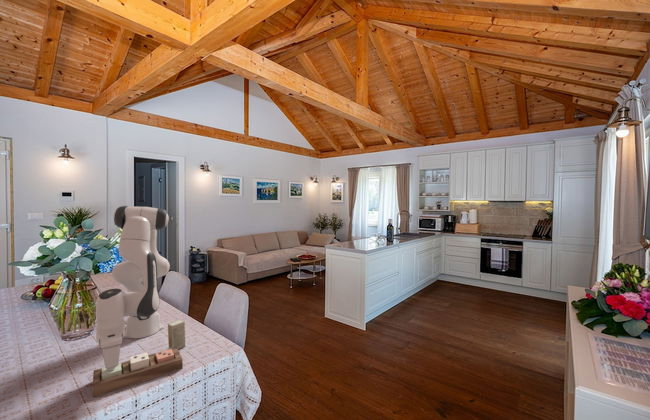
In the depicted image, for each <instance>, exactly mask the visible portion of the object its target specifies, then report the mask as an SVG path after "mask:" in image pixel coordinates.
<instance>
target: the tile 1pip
mask: <svg viewBox="0 0 650 420" xmlns="http://www.w3.org/2000/svg"><path fill="white" fill-rule="evenodd" d="M121 363H122V362H119V363H118V366H117V367H115V369H114V370H111V371H109V369H106V367H105V366H104V367H101V368H102V380H104V379H108V378H111V377H114V376H118V375H121V374H122V369H121Z"/></svg>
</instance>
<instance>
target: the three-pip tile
mask: <svg viewBox="0 0 650 420" xmlns="http://www.w3.org/2000/svg"><path fill="white" fill-rule="evenodd" d="M155 353H156V364H158V363H161V362H164V361H168V360H171V359H174V353H173V351H172V349H169V348H168V349H166V350H165V349H164V350H162V352H161V351H158V352H155Z"/></svg>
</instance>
